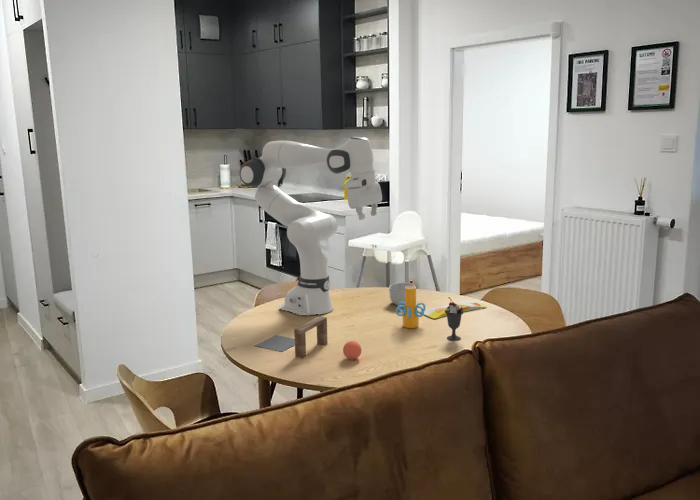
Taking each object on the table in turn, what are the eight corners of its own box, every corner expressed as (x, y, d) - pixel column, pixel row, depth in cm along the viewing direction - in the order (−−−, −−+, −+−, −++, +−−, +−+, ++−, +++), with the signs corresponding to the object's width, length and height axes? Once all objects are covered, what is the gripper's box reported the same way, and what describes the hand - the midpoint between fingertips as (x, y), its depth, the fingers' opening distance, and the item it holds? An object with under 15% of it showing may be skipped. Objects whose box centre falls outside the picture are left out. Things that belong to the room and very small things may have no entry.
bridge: (295, 356, 206) (294, 329, 203) (320, 342, 218) (319, 316, 216) (302, 358, 204) (301, 330, 202) (327, 343, 217) (326, 317, 215)
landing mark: (254, 345, 216) (254, 345, 216) (275, 335, 226) (275, 334, 226) (282, 352, 210) (282, 351, 210) (302, 340, 220) (302, 340, 220)
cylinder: (423, 332, 226) (423, 292, 223) (394, 330, 229) (394, 291, 225) (426, 321, 238) (426, 283, 235) (398, 320, 240) (398, 282, 237)
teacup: (416, 307, 255) (416, 288, 254) (389, 308, 256) (389, 289, 254) (413, 297, 269) (413, 280, 267) (388, 298, 269) (388, 280, 268)
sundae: (442, 335, 223) (442, 295, 219) (460, 334, 223) (461, 294, 220) (446, 342, 216) (447, 300, 213) (465, 341, 217) (466, 299, 213)
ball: (339, 360, 202) (339, 342, 201) (349, 354, 207) (348, 337, 206) (355, 363, 199) (355, 346, 198) (364, 357, 204) (364, 340, 203)
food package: (433, 315, 240) (418, 309, 248) (433, 321, 240) (418, 314, 248) (487, 304, 253) (471, 298, 261) (487, 309, 253) (470, 303, 262)
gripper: (369, 178, 241) (373, 213, 243) (342, 184, 224) (347, 222, 226) (384, 177, 238) (387, 212, 240) (357, 182, 220) (362, 221, 223)
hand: (368, 217), depth 233 cm, fingers open, 8 cm apart
